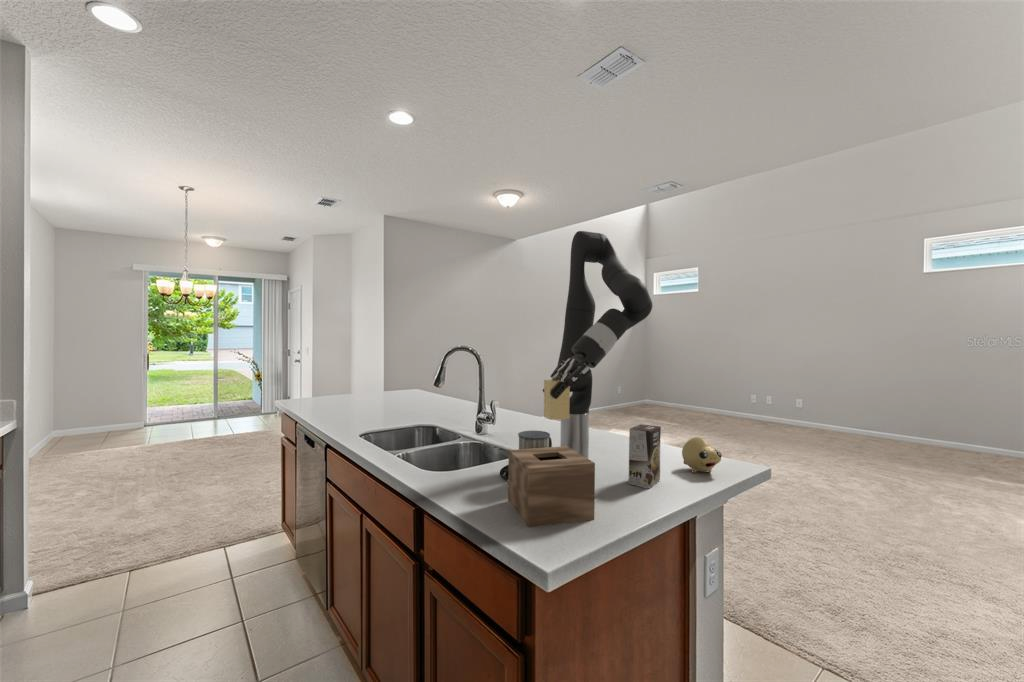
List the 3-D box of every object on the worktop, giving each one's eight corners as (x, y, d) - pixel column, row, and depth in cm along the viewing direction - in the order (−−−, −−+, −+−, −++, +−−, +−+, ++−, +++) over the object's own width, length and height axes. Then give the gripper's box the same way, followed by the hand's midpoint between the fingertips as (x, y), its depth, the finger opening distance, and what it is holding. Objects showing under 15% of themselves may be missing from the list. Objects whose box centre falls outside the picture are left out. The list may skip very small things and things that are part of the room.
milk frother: (547, 493, 116) (548, 438, 116) (490, 488, 120) (491, 435, 120) (554, 477, 130) (554, 427, 130) (502, 473, 134) (503, 424, 134)
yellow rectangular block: (543, 416, 107) (544, 379, 106) (562, 415, 108) (562, 379, 108) (550, 419, 103) (550, 381, 103) (569, 418, 104) (569, 381, 104)
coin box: (508, 501, 111) (508, 450, 111) (566, 495, 115) (566, 446, 115) (528, 527, 95) (529, 468, 95) (594, 519, 100) (594, 463, 100)
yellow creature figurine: (698, 479, 129) (698, 443, 129) (676, 467, 141) (676, 434, 141) (727, 477, 131) (728, 442, 131) (703, 465, 143) (703, 433, 143)
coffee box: (650, 489, 120) (650, 431, 120) (627, 484, 124) (628, 428, 124) (661, 481, 127) (661, 426, 127) (639, 476, 131) (640, 423, 131)
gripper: (572, 334, 114) (528, 381, 111) (599, 334, 101) (550, 387, 97) (590, 354, 116) (547, 401, 112) (619, 356, 102) (571, 410, 99)
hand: (549, 394), depth 105 cm, fingers closed on yellow rectangular block, 4 cm apart
